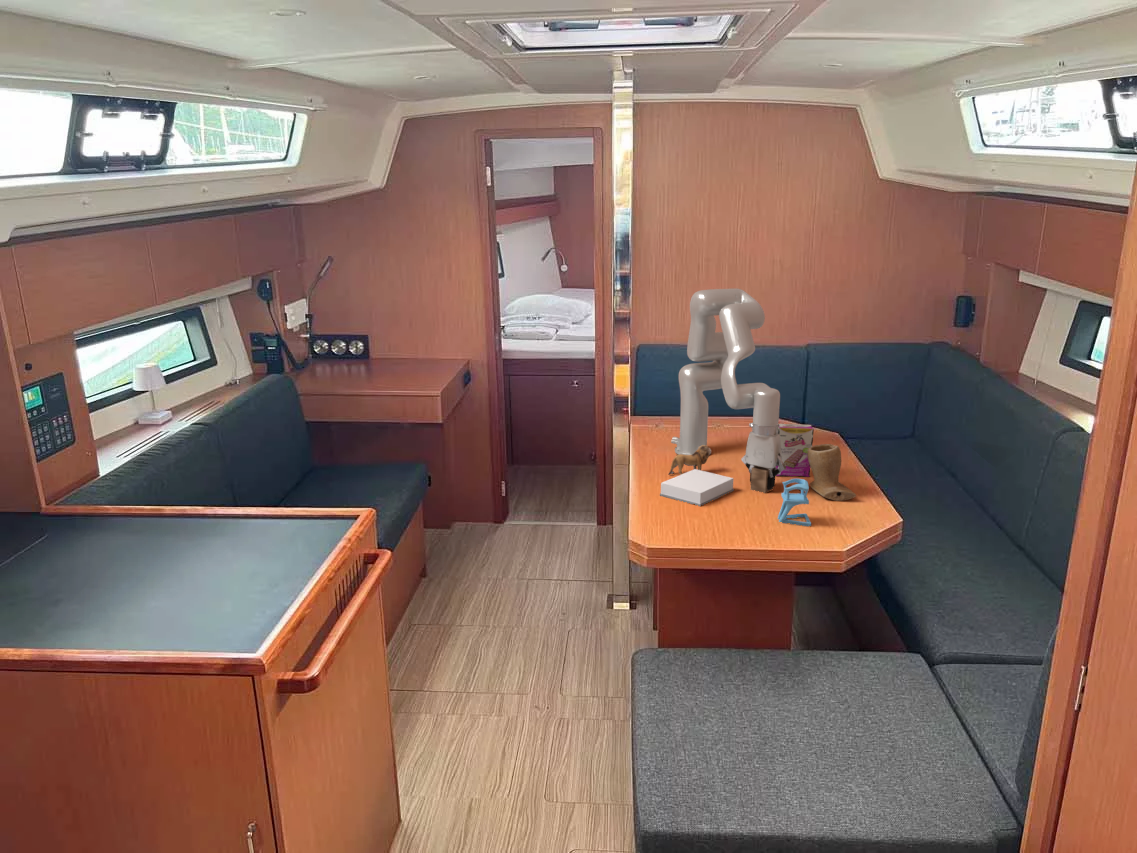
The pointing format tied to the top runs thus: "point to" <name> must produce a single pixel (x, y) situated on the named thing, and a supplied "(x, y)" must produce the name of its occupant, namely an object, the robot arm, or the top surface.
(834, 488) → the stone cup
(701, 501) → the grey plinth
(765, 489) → the walnut block
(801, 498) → the chair
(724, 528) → the top surface
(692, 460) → the lion figurine
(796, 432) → the candy bar box
